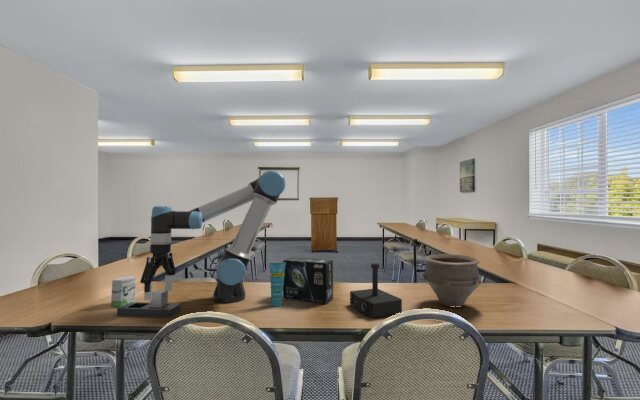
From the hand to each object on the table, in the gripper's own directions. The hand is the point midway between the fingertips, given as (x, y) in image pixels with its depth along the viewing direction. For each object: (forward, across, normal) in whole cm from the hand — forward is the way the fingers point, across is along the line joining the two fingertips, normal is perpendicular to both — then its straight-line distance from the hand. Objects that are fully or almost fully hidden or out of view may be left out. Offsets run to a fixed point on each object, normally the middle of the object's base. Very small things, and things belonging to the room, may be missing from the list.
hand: (158, 295), depth 121 cm
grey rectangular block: (+8, 0, 0) cm, 8 cm away
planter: (+7, -22, +126) cm, 128 cm away
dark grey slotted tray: (+8, 0, -4) cm, 8 cm away
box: (+7, -26, +59) cm, 65 cm away
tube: (+7, -15, +46) cm, 49 cm away
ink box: (+8, -10, -23) cm, 26 cm away
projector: (+7, -13, +89) cm, 91 cm away
